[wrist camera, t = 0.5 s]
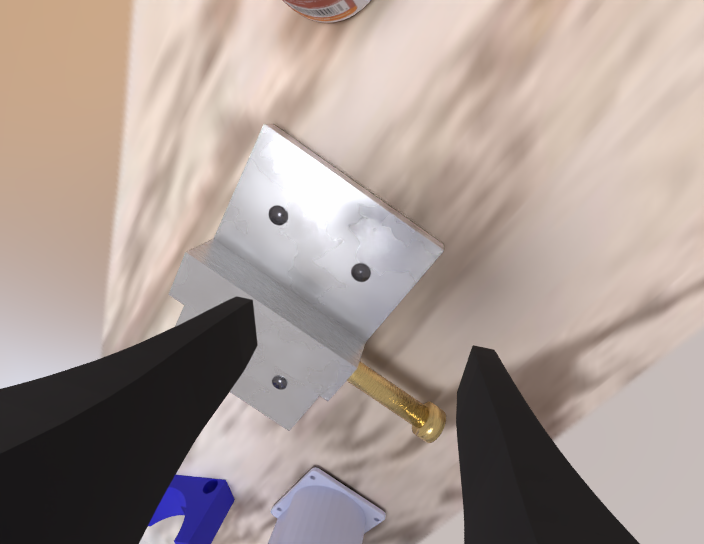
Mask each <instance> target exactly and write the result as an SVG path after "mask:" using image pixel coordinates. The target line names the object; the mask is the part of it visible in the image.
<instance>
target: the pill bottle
mask: <svg viewBox="0 0 704 544" xmlns="http://www.w3.org/2000/svg"><path fill="white" fill-rule="evenodd" d="M283 1H284V2H285V3H286V4H287V5H288V6H290V7H291V8H292V9H293V10H295V11H296V12H298V13H299V14H300V15H302V16H304V17H306V18H308V19H311V20H313V21H318V22H325V23H329V22H337V21H341V20H345V19H347V18H349V17H351V16H353V15H355V14H356V13H358V12H359V11H360V10H361V9H363V8H364V7H365V6H366V5H367V4H368V3H369V2H370V1H371V0H283Z"/></svg>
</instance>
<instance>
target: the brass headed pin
mask: <svg viewBox="0 0 704 544" xmlns="http://www.w3.org/2000/svg"><path fill="white" fill-rule="evenodd" d="M347 381H348V382H349V383H351V384H352V385H354V386H355V387H357V388H358V389H360V390H361V391H363V392H364V393H366V394H367V395H369V396H370V397H372V398H373V399H375V400H376V401H378V402H379V403H381V404H382V405H383V406H385V407H386V408H388V409H389V410H391V411H392V412H394V413H395V414H397V415H398V416H400V417H401V418H403V419H404V420H406V421H407V422H409V423H410V424H412V431H413V433H414V434H415V435H417V436H418V437H420V438H421V439H422V440H424V441H425V442H427V443H432V442H434V441H435V440H436V439H437V438H438V437H439V436H440V434H441V432H442V431H443V428H444V426H445V422H446V414H445V412H444V411H443V410H442V409H440V408H439V407H437V406H436V405H434V404H433V403H431V402H427V403H425V404H424V405H423V404H422V403H421V402H419V401H418V400H416V399H415V398H413V397H412V396H410V395H409V394H407V393H406V392H404V391H403V390H401V389H400V388H398V387H397V386H396V385H394V384H393V383H391V382H390V381H388V380H387V379H385V378H384V377H382V376H381V375H379V374H378V373H376V372H375V371H373V370H372V369H370V368H369V367H368V366H366V365H365V364H363V363H362V362H359V365H358V368H357V369H356V370H355V372H354V373H353V374H352V375H351V376H350V377H349V378H348V379H347Z"/></svg>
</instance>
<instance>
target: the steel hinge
mask: <svg viewBox="0 0 704 544" xmlns="http://www.w3.org/2000/svg"><path fill="white" fill-rule="evenodd" d="M443 251H444V244H443V243H441V242H440V241H438V240H437V239H436V238H434V237H433V236H431V235H430V234H429V233H427V232H426V231H424V230H423V229H421V228H420V227H419V226H417V225H416V224H414V223H413V222H412V221H410V220H409V219H407V218H406V217H404V216H403V215H402V214H400V213H399V212H397V211H396V210H395V209H393V208H392V207H390V206H389V205H387V204H386V203H385V202H383V201H382V200H380V199H379V198H378V197H376V196H375V195H373V194H372V193H370V192H369V191H368V190H366V189H365V188H363V187H362V186H361V185H359V184H358V183H356V182H355V181H353V180H352V179H351V178H349V177H348V176H346V175H345V174H344V173H342V172H341V171H339V170H338V169H336V168H335V167H334V166H332V165H331V164H329V163H328V162H327V161H325V160H324V159H322V158H321V157H319V156H318V155H317V154H315V153H314V152H312V151H311V150H310V149H308V148H307V147H305V146H304V145H302V144H301V143H300V142H298V141H297V140H295V139H294V138H293V137H291V136H290V135H288V134H287V133H285V132H284V131H283V130H281V129H280V128H278V127H277V126H276V125H274V124H264V125H263V127H262V130H261V132H260V134H259V136H258V139H257V141H256V143H255V146H254V148H253V150H252V152H251V155H250V157H249V159H248V161H247V164H246V166H245V168H244V171H243V173H242V175H241V177H240V180H239V182H238V184H237V187H236V189H235V191H234V193H233V196H232V198H231V200H230V203H229V205H228V207H227V209H226V212H225V214H224V216H223V219H222V221H221V223H220V225H219V228H218V230H217V232H216V234H215V237H214V238H213V239H211V240H209V241H207V242H205V243H203V244H201V245H199V246H197V247H195V248H193V249H191V250H189V251H187V252H185V255H184V257H183V260H182V262H181V265H180V267H179V270H178V272H177V275H176V277H175V280H174V282H173V285H172V287H171V290H170V292H169V295H170V296H172V297H173V298H175V299H176V300H177V301H179V302H180V303H182V304H183V305H184V307H183V310H182V312H181V314H180V317H179V319H178V321H177V323H176V326H178V325H180V324H182V323H184V322H186V321H188V320H190V319H192V318H194V317H196V316H198V315H200V314H202V313H204V312H205V311H207V310H209V309H211V308H213V307H215V306H217V305H219V304H221V303H223V302H225V301H227V300H229V299H232V298H234V297H236V296H237V297H242V298H247V299H252V300H253V306H254V315H255V325H256V334H257V344H258V346H257V348H256V350H255V351H254V353H253V355H252V357H251V359H250V361H249V363H248V365H247V367H246V368H245V370H244V372H243V373H242V375H241V376H240V378H239V379H238V380H237V382H236V383H235V385H234V386H233V388H232V389H231V390H230V392H231V393H232V394H234V395H235V396H237V397H238V398H240V399H241V400H243V401H244V402H246V403H247V404H249V405H250V406H252V407H253V408H255V409H256V410H258V411H259V412H261V413H262V414H264V415H266V416H267V417H269V418H270V419H272V420H273V421H275V422H276V423H278V424H279V425H281V426H282V427H284V428H285V429H287V430H288V431H290V430H291V429H292V427H293V426H294V425H295V424H296V423H297V422H298V420H299V419H300V418H301V417H302V416H303V415H304V413H305V412H306V411H307V410H308V409H309V408H310V406H311V405H312V404H313V403H314V402H315V401H316V399H317V398H318V397H319V396H321V397H322V398H324V399H325V400H327V401H329V400H330V399H331V397H332V396H333V395H334V394H335V393H336V392H337V391H338V390H339V388H340V387H341V386H342V385H343V384H344V383H345V382H346V381H347V379H348V378H349V377H350V376H351V375H352V374H353V373H354V372H355V370H356V369H357V368H358V365H359V362H360V358H361V355H362V352H363V349H364V346H365V343H366V341H367V340H368V339H369V338H370V336H371V335H372V334H373V333H374V332H375V331H376V329H377V328H378V327H379V326H380V325H381V324H382V323H383V321H384V320H385V319H386V318H387V317H388V316H389V314H390V313H391V312H392V311H393V310H394V309H395V307H396V306H397V305H398V304H399V303H400V302H401V300H402V299H403V298H404V297H405V296H406V295H407V293H408V292H409V291H410V290H411V289H412V288H413V286H414V285H415V284H416V283H417V282H418V281H419V279H420V278H421V277H422V276H423V275H424V274H425V272H426V271H427V270H428V269H429V268H430V267H431V265H432V264H433V263H434V262H435V261H436V260H437V258H438V257H439V256H440V255H441V254H442V253H443ZM176 326H175V327H176Z"/></svg>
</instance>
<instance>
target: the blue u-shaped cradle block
mask: <svg viewBox="0 0 704 544" xmlns="http://www.w3.org/2000/svg"><path fill="white" fill-rule="evenodd" d="M234 500H235V499H234V497H233V495H232V493H231V490H230V488H229V486H228V484H227V482H226V480H222V479H212V478H202V477H192V476H182V475H175V476H174V478H173V480H172V482H171V483H170V485H169V487H168V489H167V491H166V493H165V494H164V496H163V498H162V500H161V502H160V503H159V505H158V507H157V509H156V511H155V513H154V515H153V517H152V519H151V521H150V523H149V525H148V526H152V525H153V524H155V523H157V522H159V521H161V520H163V519H165V518H168V517H171V516H176V515H185V518H184V521H183V524H182V527H181V529H180V531H179V533H178V535H177V537H176V538H175V540H174V542H175V544H211V543H212V541H213V539H214V537H215V535H216V533H217V532H218V530H219V528H220V526H221V524H222V522H223V520H224V519H225V517H226V515H227V513H228V511H229V509H230V507H231V506H232V504H233V502H234Z"/></svg>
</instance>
